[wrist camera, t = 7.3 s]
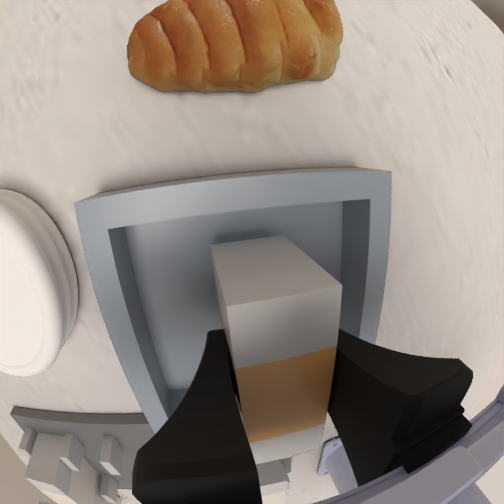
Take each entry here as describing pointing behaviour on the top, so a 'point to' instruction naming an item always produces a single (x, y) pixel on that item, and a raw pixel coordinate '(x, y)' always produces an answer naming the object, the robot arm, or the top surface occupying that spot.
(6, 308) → the white round tin
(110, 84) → the top surface
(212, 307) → the tray
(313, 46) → the pastry
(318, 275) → the orange fuse
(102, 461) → the panel
